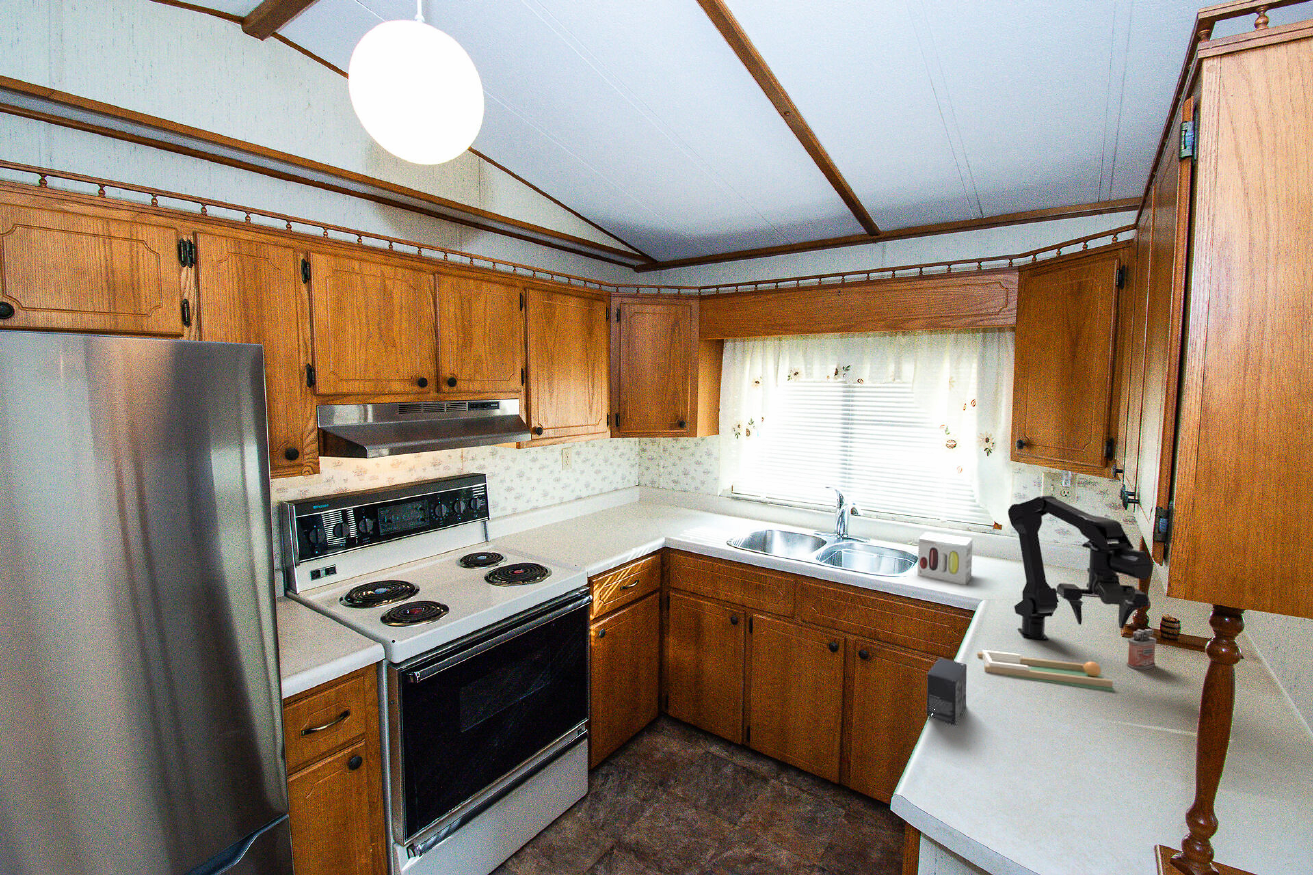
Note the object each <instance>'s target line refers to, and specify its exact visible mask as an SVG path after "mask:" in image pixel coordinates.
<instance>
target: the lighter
mask: <svg viewBox="0 0 1313 875" xmlns="http://www.w3.org/2000/svg"><path fill="white" fill-rule="evenodd" d="M1132 633H1133V634H1132V636H1133V637H1130V638H1127V643H1128V652H1127V653H1128V654H1127V655H1128V657H1127V658H1128V659H1127V663H1126V666H1127V667H1128V668H1130V669H1133V670H1136V671H1137V670H1149V669H1153V668H1155V667H1156V662H1155V655H1156V643H1157V641H1158V640H1157V638H1156V637H1152V636H1153V635H1154V630H1153V629H1151V628H1147V629H1143V630H1142V629H1140V628H1138V629H1137V630H1136V631H1132Z"/></svg>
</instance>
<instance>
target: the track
mask: <svg viewBox="0 0 1313 875" xmlns="http://www.w3.org/2000/svg"><path fill="white" fill-rule="evenodd" d="M976 654H977V658H978V659H982V652H979V651H977V653H976ZM1084 664H1085V663H1077V662H1068V661H1059V660H1053V659H1051V660H1050V659H1044V658H1043V659H1041V658H1034V657H1033V658H1032V657H1024V656H1020V665H1030V666H1033V667H1029V671H1026V670H1017V669H1009V668H1000V667H992V666H989V665H985V664H984V668H983V669H984V672H986V673H992V674H999V675H1004V676H1005V677H1006V678H1007V677H1008V678H1014V679H1015V678H1016V679H1023V680H1029V681H1036V682H1043V683H1051V684H1057V685H1064V686H1070V687H1071V686H1072V687H1078V688H1084V689H1091V690H1092V689H1093V690H1097V691H1098V690H1099V691H1104V692H1105V691H1106V692H1115V689H1114V687H1113V683H1114V681H1113V680H1112V679H1110V678H1109V679H1108V678H1104V677H1103V675H1101V674H1100V675H1098V676H1095V677H1093V676H1089V675H1088V674H1086V672H1085V671H1084V668H1083V667H1084Z"/></svg>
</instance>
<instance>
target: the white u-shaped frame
mask: <svg viewBox="0 0 1313 875" xmlns="http://www.w3.org/2000/svg"><path fill="white" fill-rule="evenodd" d="M981 653H982V658H981V659H982V660H983V663H984V665H989V666H992V667H1000V668H1009V669H1017V670H1026V671H1029V668H1030V666H1028V664H1021V663H1020V657H1021V654H1020V653H1014V652H1013V653H1012V652H1006V651H1004V652H1003V651H997V650H996V651H995V650H988V649H982V650H981Z"/></svg>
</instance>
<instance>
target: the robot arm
mask: <svg viewBox="0 0 1313 875" xmlns="http://www.w3.org/2000/svg"><path fill="white" fill-rule="evenodd" d="M1048 514H1050V516H1051V515H1052V517H1053V516H1054V517H1055V518H1057V519H1059V520H1061V521H1063V522H1065V523H1067V524H1069V525H1071V526H1073V527H1074V528H1076V529H1077V530H1078V531H1079V532H1080V534H1081V535H1083V537H1085V538H1086V539H1088V540H1087V541H1086V542H1084V543H1082V545H1081V546H1082V548H1085V549H1089V564H1088V565H1089V567H1087V568H1086V570H1087V571H1086V572H1087V573H1088V582H1087V583H1086V588H1080V587H1078V586H1077V585H1076V584H1075V583H1062V582H1060V583H1058V584H1057V586H1056V588H1055V587H1051V586H1050V585H1049V583H1048V582H1047V579H1046V574H1045V566H1044V563H1043V562H1044V561H1043V554H1042V549H1041V545H1040V538H1039V531H1040V529H1041V527H1042V525H1043V524H1042V523H1043V517H1044V516H1045V515H1048ZM1007 515H1008V518H1009V522H1010V525H1011V526H1012V528H1013V529H1014V530H1015V531H1016V532H1017V534H1018V538H1019V540H1018V541H1019V545H1020V551H1021V557H1022V563H1023V569H1024V576H1025V580H1026V581H1025V582H1026V583H1025V585H1024V587H1023V590H1022V591H1021V592H1022V593H1021V594H1022V597H1021V598H1022V600H1020V601H1019V602H1018V603H1017V604H1015V605H1014V612H1015V614H1016V615H1019V616H1021V627H1020V628H1019V627H1018V628H1017V631H1018V632H1019V634H1020V635H1021V636H1022V637H1023V638H1024V639H1034V640H1043V641H1049V640H1050V639H1049V637H1048V636H1047V635H1046V634H1045V628H1046V617H1053V615H1054V613H1055V611H1056V609H1058V603H1060V601H1059V598H1058V595H1059V596H1060V597H1062V599H1064V600H1066V601H1067V602H1068V603H1069V605H1070V606H1071V609H1072V612H1073V614H1074V616H1075V619H1076V621H1077V624H1078V625H1079V626H1081V625H1082V621H1083V615H1082V614H1083V613H1082V606H1083V603H1084V602H1083V601H1082V600H1081V599H1082V598H1083V597H1087V598H1090V597H1091V598H1099V599H1100V600H1101V603H1103V604H1105V605H1118V627H1119V629H1122V630H1123V629H1124V627H1125V626H1126V623H1127V622H1128V620H1129V618H1130V617H1131V615H1132V614H1133V612H1135V611H1136V610H1138V609H1139V610H1140V609H1142V608H1143V607H1149V606H1150V598H1149V596H1148V595H1147V594H1146V593H1145V592H1143V591H1142V590H1140V589H1139V588H1135V587H1134V585H1126V584H1121V583H1120V577H1119V575H1118V574H1121V575H1124V576H1128V577H1131V578H1134V579H1137V580H1145V579H1148V578H1149V577H1150V575H1151V574H1152V572H1153V564H1152V561H1151V560H1150V558H1149V557H1147V552H1146V551H1143V550H1136V549H1134V545H1133V544H1132V542H1131V541H1130V539H1129V537H1128V535H1127V534H1126V532H1125V531H1124V529H1123V527H1122V526H1123V525H1122V523H1120V522H1119V521H1117V520H1115V519H1112V518H1108V517H1103V516H1098V515H1097V516H1096V515H1093V514H1089V513H1087V512H1086V511H1084V510H1081V509H1078V508H1076V507H1075V506H1072V505H1070V504H1068V503H1066V502H1064V501H1062V500H1060V499H1057V497H1055V496H1052V495H1039V496H1037V497H1034V498H1033V499H1031V500H1027V501H1024V502H1021V503H1013V504H1012V505H1011V506H1010V507H1009V508H1008V510H1007Z"/></svg>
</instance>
